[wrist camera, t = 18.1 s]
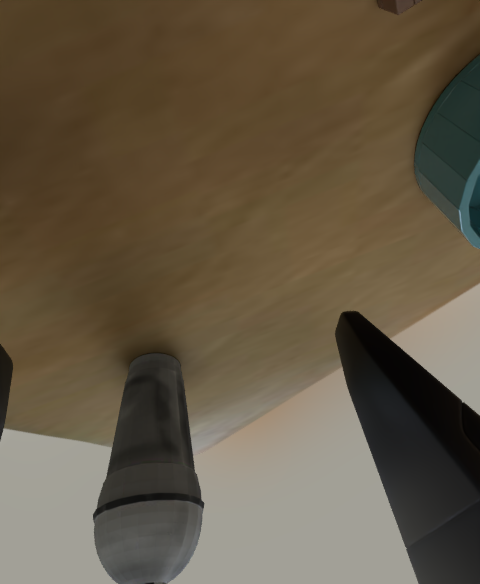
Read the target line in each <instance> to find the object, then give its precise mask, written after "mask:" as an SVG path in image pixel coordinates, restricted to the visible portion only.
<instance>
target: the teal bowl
mask: <svg viewBox="0 0 480 584" xmlns="http://www.w3.org/2000/svg"><path fill="white" fill-rule="evenodd" d="M414 166H415V175H416V179H417V182H418V185H419V187H420V189H421V190H422V192H423V193H424V194H425V195H426V197H427V198H428V199H429V200H430V201H431V202H432V204H433V205H434V206H435V207H436V208H437V209H438V210H439V211H440V212H441V213H442V214H443V215H444V216H445V218H446V219H447V220H448V221H449V222H450V223H451V224H452V225H453V226H454V227H455V228H456V229H457V230H458V231H459V232H460V233H461V234H462V235H463V237H464V238H465V239H466V240H467V241H468V242H469V243H470V244H471V245H472V246H474V247H476V248H479V249H480V55H478V56H477V57H476V58H475V59H474V60H473V61H471V62H470V63H469V64H468V65H467V66H466V67H465V68H464V69H463V70H462V71H461V72H460V73H459V74H458V75H457V76H456V77H455V78H454V79H453V80H452V82H451V83H450V84H449V85H448V86H447V88H446V89H445V90H444V91H443V93H442V94H441V96H440V97H439V98H438V100H437V101H436V103H435V104H434V106H433V108H432V109H431V111H430V113H429V115H428V116H427V118H426V121H425V123H424V125H423V127H422V130H421V132H420V135H419V138H418V142H417V146H416V150H415V160H414Z"/></svg>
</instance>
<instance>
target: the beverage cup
mask: <svg viewBox="0 0 480 584" xmlns="http://www.w3.org/2000/svg"><path fill="white" fill-rule="evenodd" d="M203 508H204V502H203V501H202V500H201V490H200V486H199V482H198V477H197V474H196V473H195V470H194V461H193V453H192V445H191V437H190V429H189V421H188V413H187V405H186V397H185V389H184V381H183V378H182V372H181V365H180V363H179V361H178V360H177V359H175V358H174V357H172V356H169V355H166V354H160V353H152V354H146V355H142V356H140V357H138V358H136V359H135V360H134V361H132V362H131V364H130V367H129V373H128V376H127V380H126V382H125V387H124V392H123V397H122V402H121V407H120V412H119V417H118V422H117V427H116V432H115V437H114V442H113V447H112V452H111V457H110V463H109V467H108V472H107V477H106V480H105V482H104V483H103V487H102V490H101V493H100V496H99V500H98V505H97V509H96V511H95V512H94V514H93V520H94V523H95V526H94V538H95V546H96V550H97V554H98V556H99V559H100V561H101V563H102V565H103V567H104V568H105V570H106V572H107V573H108V574H109V576H110V577H111V578H112V579H113V580H114V581H115V582H117V583H118V584H167V583H168V582H170V581H171V580H173V579H174V578H175V577H176V576H177V575H178V574H180V573H181V571H182V570H183V569H184V568H185V567H186V565H187V564H188V563H189V561H190V559H191V557H192V556H193V554H194V551H195V549H196V546H197V543H198V539H199V536H200V532H201V525H202V513H203Z"/></svg>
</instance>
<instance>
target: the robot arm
mask: <svg viewBox="0 0 480 584" xmlns="http://www.w3.org/2000/svg"><path fill="white" fill-rule="evenodd" d="M335 337H336V342H337V346H338V350H339V354H340V358H341V363H342V367H343V371H344V375H345V379H346V383H347V387H348V390H349V393H350V396H351V398H352V401H353V404H354V407H355V410H356V412H357V415H358V418H359V420H360V423H361V426H362V429H363V431H364V434H365V437H366V440H367V442H368V445H369V448H370V451H371V453H372V456H373V459H374V462H375V464H376V467H377V470H378V473H379V475H380V478H381V481H382V484H383V486H384V489H385V492H386V495H387V497H388V500H389V503H390V506H391V508H392V511H393V514H394V517H395V519H396V522H397V525H398V527H399V530H400V533H401V536H402V539H403V541H404V544H405V547H406V548H407V549H406V550H407V553H408V556H409V558H410V561H411V564H412V567H413V569H414V572H415V574H416V577H417V580H418V583H419V584H480V415H478V414H477V413H476V412H475V411H474V410H472V409H471V408H470V407H469V406H468V405H467V404H465V403H462V401H461V399H459V398H458V397H457V396H456V395H455V394H454V393H452V392H451V391H450V390H449V389H448V388H447V387H445V386H444V385H443V384H442V383H441V382H440V381H438V380H437V379H436V378H435V377H434V376H432V375H431V374H430V373H429V372H428V371H427V370H425V369H424V368H423V367H422V366H421V365H420V364H418V363H417V362H416V361H415V360H414V359H413V358H412V357H410V356H409V355H408V354H407V353H405V352H404V351H403V350H402V349H401V348H400V347H399V346H397V345H396V344H395V343H394V342H393V341H391V340H390V339H389V338H388V337H387V336H386V335H385V334H383V333H382V332H381V331H380V330H379V329H378V328H376V327H375V326H374V325H373V324H372V323H371V322H369V321H368V320H367V319H366V318H365V317H364V316H362V315H361V314H360V313H359V312H357V311H346V312H343V313H341V315H340V318H339V321H338V324H337V327H336V331H335ZM12 371H13V363H12V360H11V358H10V357H9V355H8V354H7V353H6V351H5V350H4V348H3V347H2V345H1V344H0V439H1V436H2V432H3V428H4V424H5V418H6V412H7V406H8V399H9V392H10V385H11V378H12Z"/></svg>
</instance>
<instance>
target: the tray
mask: <svg viewBox="0 0 480 584" xmlns="http://www.w3.org/2000/svg"><path fill="white" fill-rule="evenodd" d="M420 1H422V0H377V2H378V6H379V8H381V9H384V10H386V11H389V12H392V13H394V14H397V15H399V14H401V13H403V12H404V11H406V10H407V9H409V8H411V7H412V6H413V5H414V4H417V3H419V2H420Z"/></svg>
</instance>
